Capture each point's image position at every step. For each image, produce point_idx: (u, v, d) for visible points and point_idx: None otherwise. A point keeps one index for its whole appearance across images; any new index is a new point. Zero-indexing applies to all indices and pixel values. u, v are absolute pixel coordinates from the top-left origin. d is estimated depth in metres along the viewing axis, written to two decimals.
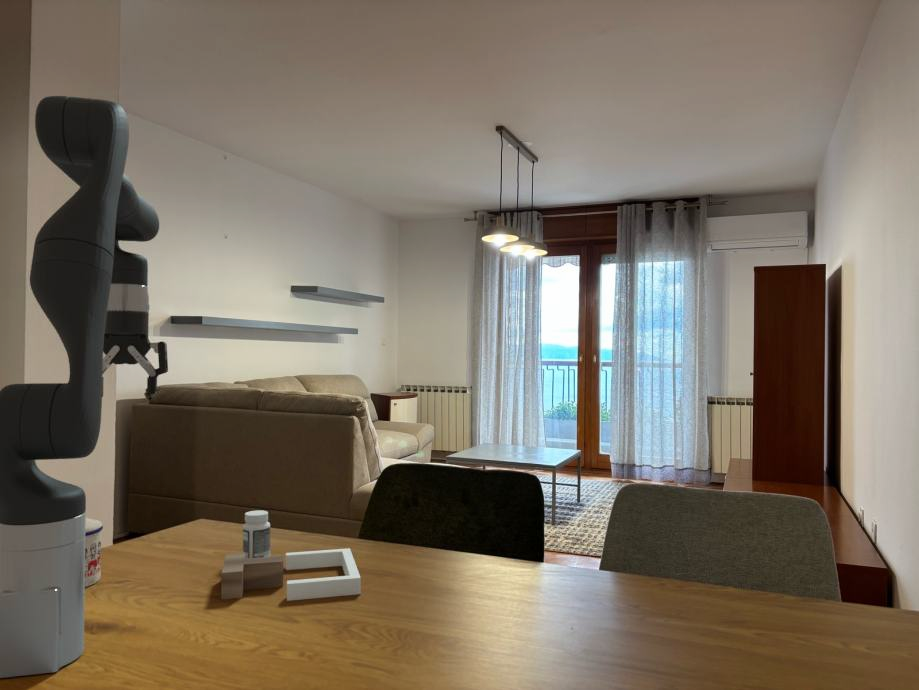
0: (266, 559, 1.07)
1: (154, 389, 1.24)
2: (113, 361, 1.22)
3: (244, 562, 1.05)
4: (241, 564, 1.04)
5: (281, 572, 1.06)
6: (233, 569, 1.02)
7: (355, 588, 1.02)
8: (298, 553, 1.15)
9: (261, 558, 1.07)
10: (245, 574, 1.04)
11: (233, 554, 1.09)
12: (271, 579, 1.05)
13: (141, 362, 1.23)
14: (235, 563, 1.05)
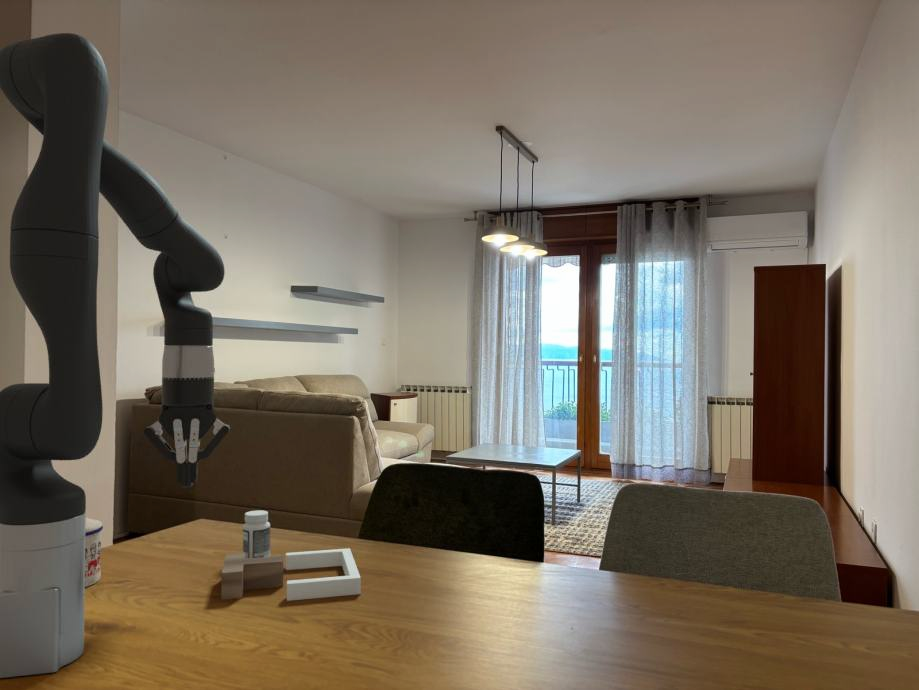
0: (266, 559, 1.07)
1: (195, 477, 1.03)
2: (185, 435, 1.03)
3: (244, 562, 1.05)
4: (241, 564, 1.04)
5: (281, 572, 1.06)
6: (233, 569, 1.02)
7: (355, 588, 1.02)
8: (298, 553, 1.15)
9: (261, 558, 1.07)
10: (245, 574, 1.04)
11: (233, 554, 1.09)
12: (271, 579, 1.05)
13: (192, 441, 1.02)
14: (235, 563, 1.05)
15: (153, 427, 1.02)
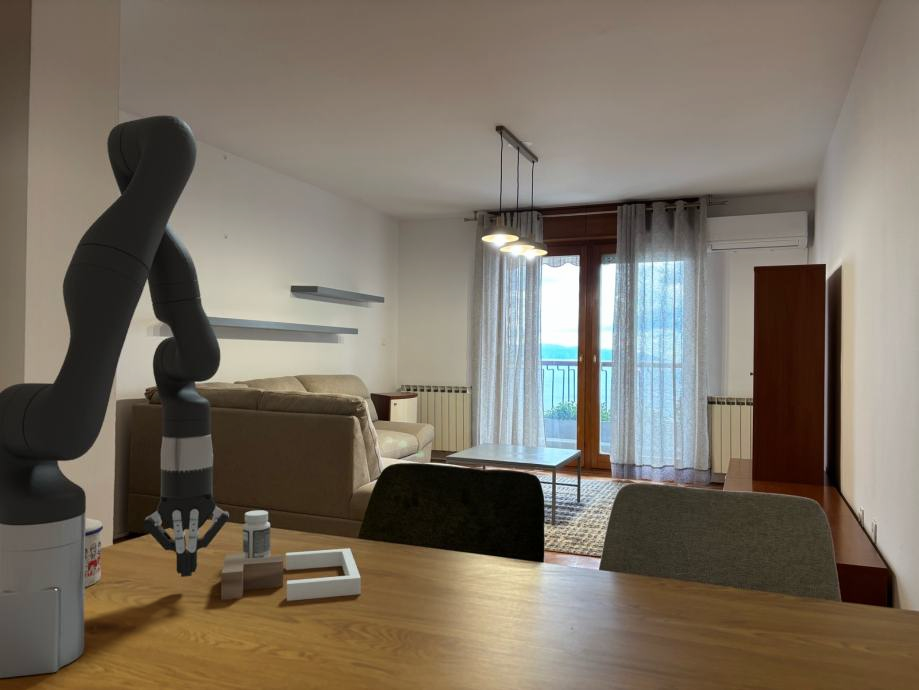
0: (266, 559, 1.07)
1: (194, 566, 1.03)
2: (185, 525, 1.03)
3: (244, 562, 1.05)
4: (241, 564, 1.04)
5: (281, 572, 1.06)
6: (233, 569, 1.02)
7: (355, 588, 1.02)
8: (298, 553, 1.15)
9: (261, 558, 1.07)
10: (245, 574, 1.04)
11: (233, 554, 1.09)
12: (271, 579, 1.05)
13: (192, 532, 1.02)
14: (235, 563, 1.05)
15: (152, 518, 1.02)
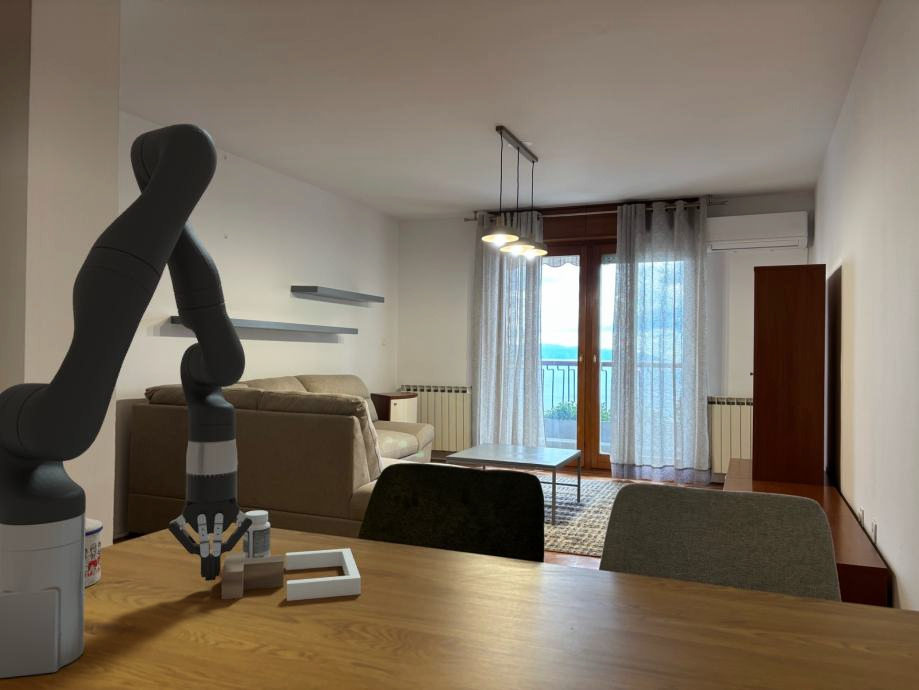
0: (266, 559, 1.07)
1: (218, 570, 1.04)
2: (209, 529, 1.04)
3: (244, 562, 1.05)
4: (242, 564, 1.04)
5: (281, 572, 1.06)
6: (233, 569, 1.02)
7: (355, 588, 1.02)
8: (298, 553, 1.15)
9: (262, 558, 1.07)
10: (245, 574, 1.04)
11: (233, 554, 1.09)
12: (271, 579, 1.05)
13: (216, 536, 1.03)
14: (235, 563, 1.05)
15: (177, 522, 1.03)
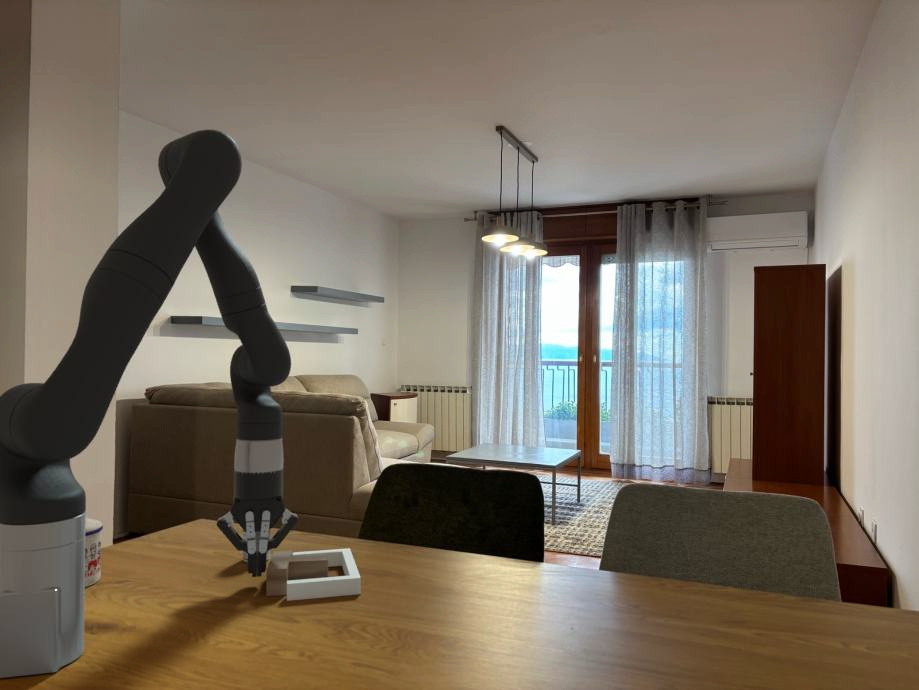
0: (311, 557, 1.08)
1: (264, 567, 1.06)
2: (256, 526, 1.05)
3: (290, 559, 1.06)
4: (287, 561, 1.05)
5: (325, 571, 1.06)
6: (278, 566, 1.03)
7: (355, 588, 1.02)
8: (298, 553, 1.15)
9: (307, 556, 1.08)
10: (290, 571, 1.05)
11: (280, 551, 1.11)
12: None
13: (263, 533, 1.05)
14: (281, 560, 1.06)
15: (225, 519, 1.05)
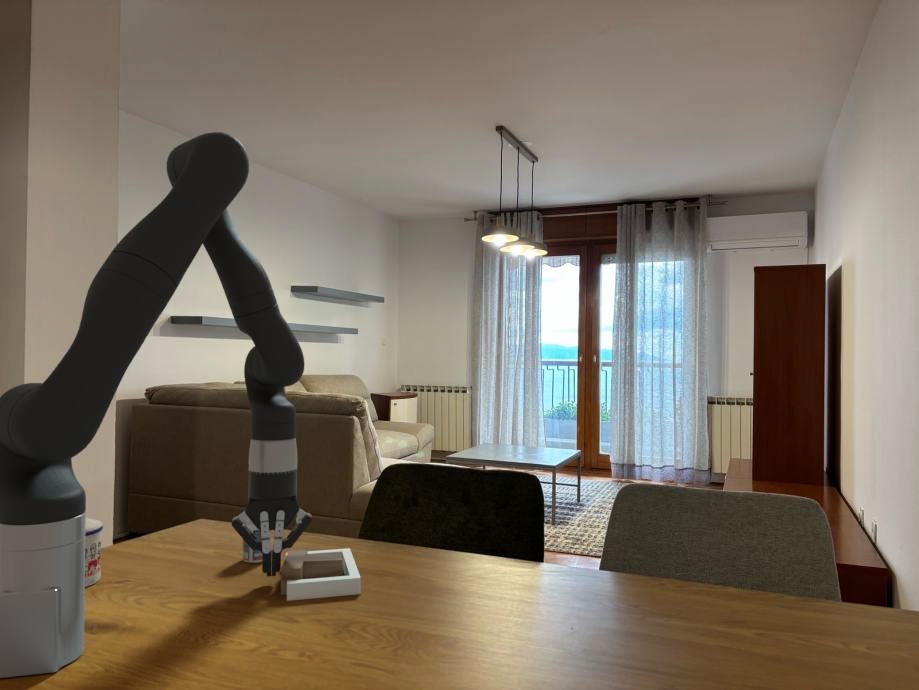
0: (325, 557, 1.08)
1: (279, 566, 1.06)
2: (271, 526, 1.06)
3: (304, 559, 1.07)
4: (301, 561, 1.06)
5: (339, 571, 1.06)
6: (292, 566, 1.03)
7: (355, 588, 1.02)
8: None
9: (321, 555, 1.09)
10: (305, 571, 1.06)
11: (295, 551, 1.11)
12: None
13: (278, 532, 1.05)
14: (295, 559, 1.06)
15: (240, 519, 1.05)
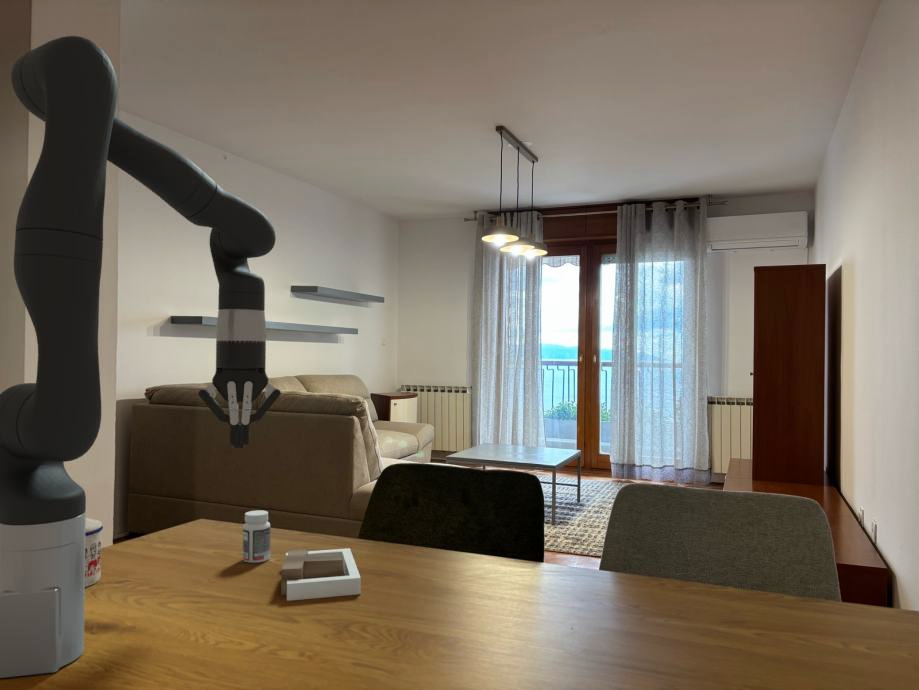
0: (326, 557, 1.08)
1: (247, 439, 1.05)
2: (239, 398, 1.05)
3: (304, 559, 1.07)
4: (302, 561, 1.06)
5: (340, 571, 1.06)
6: (293, 566, 1.03)
7: (355, 588, 1.02)
8: None
9: (322, 555, 1.09)
10: (305, 571, 1.06)
11: (296, 551, 1.11)
12: None
13: (245, 404, 1.04)
14: (296, 560, 1.06)
15: (207, 389, 1.04)
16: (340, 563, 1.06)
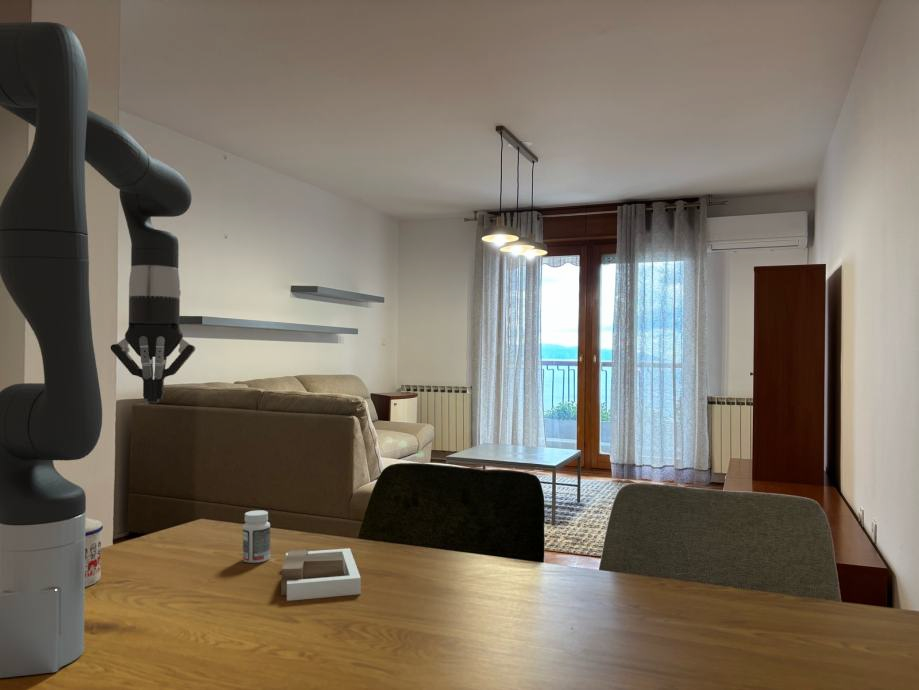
0: (326, 557, 1.08)
1: (160, 393, 1.07)
2: (151, 353, 1.07)
3: (305, 559, 1.07)
4: (302, 561, 1.06)
5: (340, 571, 1.06)
6: (293, 566, 1.03)
7: (355, 588, 1.02)
8: None
9: (322, 555, 1.09)
10: (305, 571, 1.06)
11: (296, 551, 1.11)
12: None
13: (158, 358, 1.07)
14: (296, 559, 1.06)
15: (120, 344, 1.06)
16: (340, 563, 1.06)
